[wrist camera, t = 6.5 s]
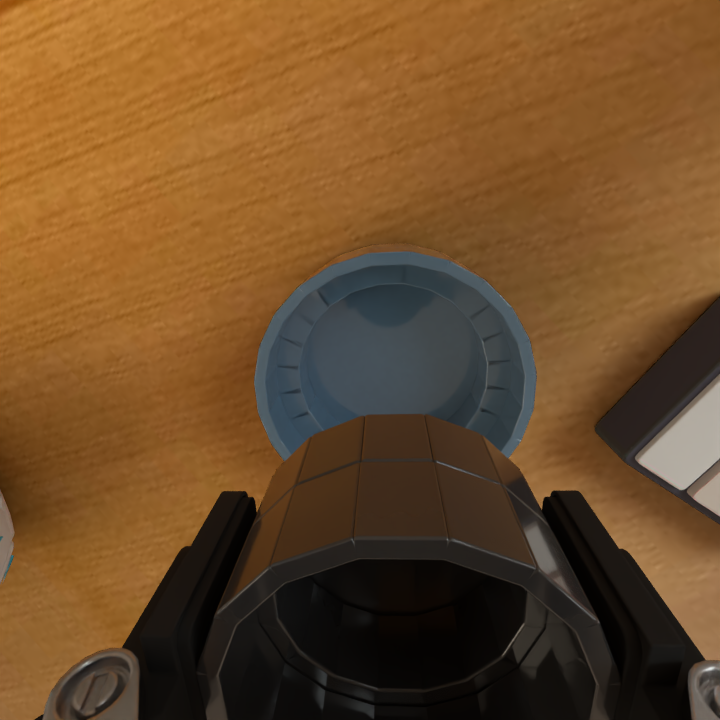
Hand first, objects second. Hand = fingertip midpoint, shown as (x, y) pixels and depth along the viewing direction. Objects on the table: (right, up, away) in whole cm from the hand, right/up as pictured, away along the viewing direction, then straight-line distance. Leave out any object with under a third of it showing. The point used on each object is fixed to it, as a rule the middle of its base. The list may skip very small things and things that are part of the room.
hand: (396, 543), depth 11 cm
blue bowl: (+1, +4, +17) cm, 17 cm away
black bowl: (0, 0, +1) cm, 1 cm away
